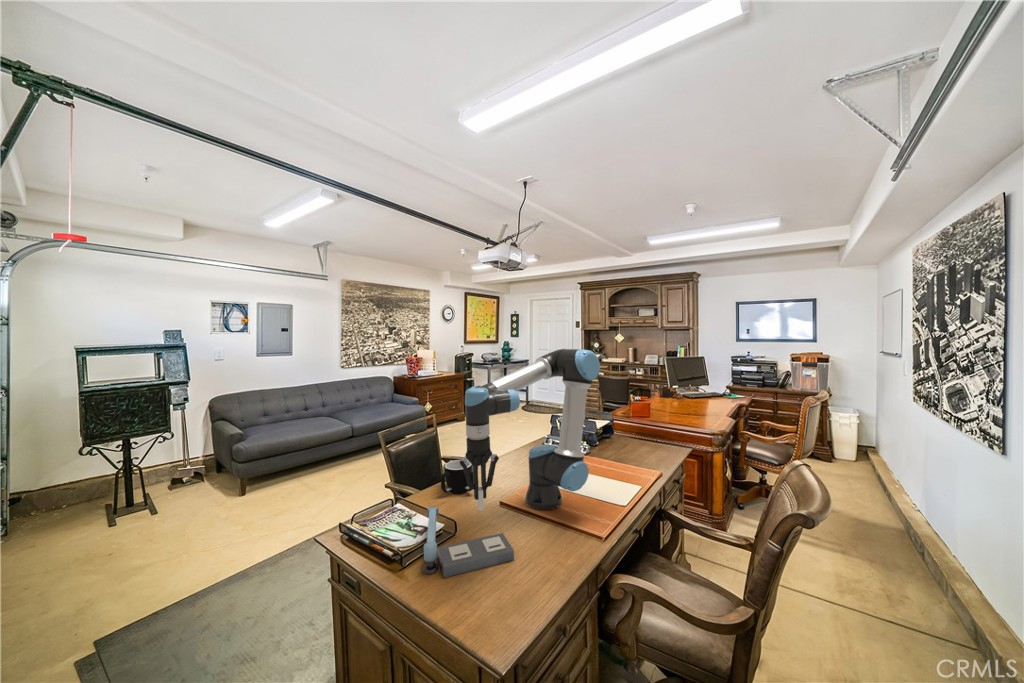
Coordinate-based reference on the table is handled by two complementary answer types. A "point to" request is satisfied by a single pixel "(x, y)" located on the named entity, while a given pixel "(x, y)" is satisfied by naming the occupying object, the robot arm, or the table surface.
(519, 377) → the robot arm
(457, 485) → the black pot
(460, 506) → the table surface
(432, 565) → the black short cylinder
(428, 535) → the hole punch handle
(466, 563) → the block
